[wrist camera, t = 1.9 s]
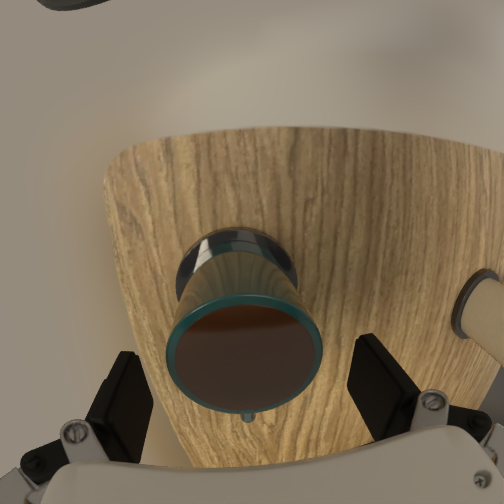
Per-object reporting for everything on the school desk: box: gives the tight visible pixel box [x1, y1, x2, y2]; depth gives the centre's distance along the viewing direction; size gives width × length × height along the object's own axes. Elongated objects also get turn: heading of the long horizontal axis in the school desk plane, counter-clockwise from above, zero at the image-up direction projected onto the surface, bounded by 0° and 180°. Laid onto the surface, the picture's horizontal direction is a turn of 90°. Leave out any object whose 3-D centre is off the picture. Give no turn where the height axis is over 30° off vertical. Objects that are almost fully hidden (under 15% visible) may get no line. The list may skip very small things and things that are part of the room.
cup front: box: [166, 241, 323, 423], centre depth 15 cm, size 9×7×8 cm
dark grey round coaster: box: [451, 269, 499, 339], centre depth 22 cm, size 8×8×1 cm
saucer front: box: [176, 227, 297, 302], centre depth 18 cm, size 8×8×1 cm
